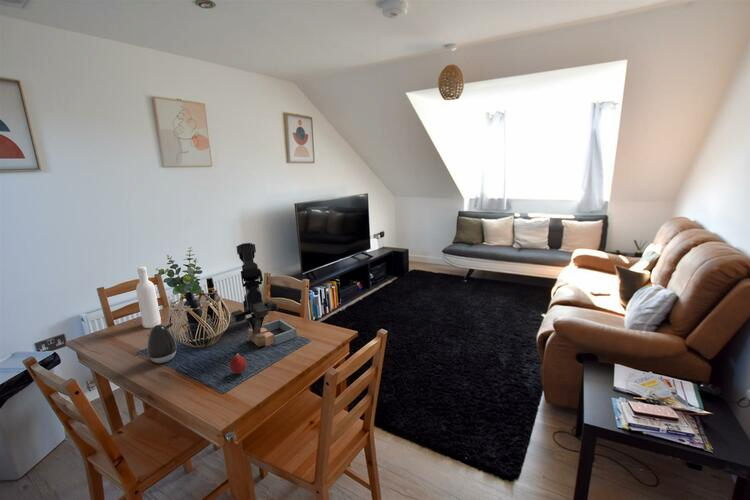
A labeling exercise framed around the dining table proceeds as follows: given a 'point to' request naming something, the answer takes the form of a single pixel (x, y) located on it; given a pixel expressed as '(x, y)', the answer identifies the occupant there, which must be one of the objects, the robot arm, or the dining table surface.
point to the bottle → (147, 300)
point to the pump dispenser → (161, 344)
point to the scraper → (256, 333)
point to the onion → (238, 364)
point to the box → (289, 330)
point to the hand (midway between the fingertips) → (256, 329)
